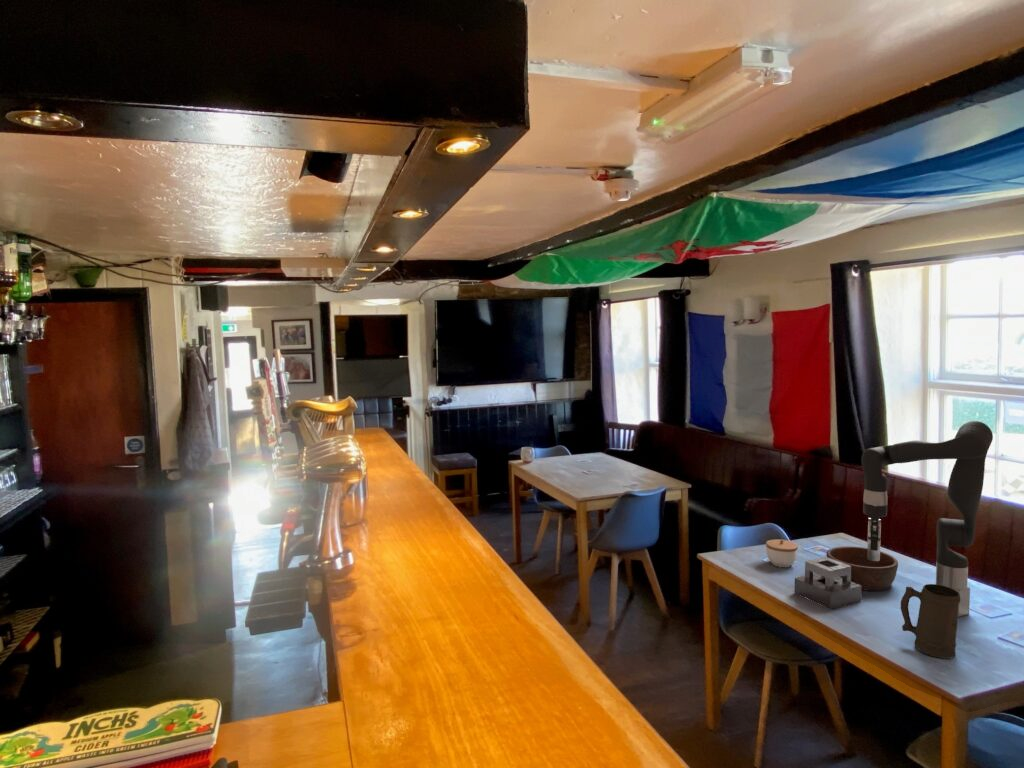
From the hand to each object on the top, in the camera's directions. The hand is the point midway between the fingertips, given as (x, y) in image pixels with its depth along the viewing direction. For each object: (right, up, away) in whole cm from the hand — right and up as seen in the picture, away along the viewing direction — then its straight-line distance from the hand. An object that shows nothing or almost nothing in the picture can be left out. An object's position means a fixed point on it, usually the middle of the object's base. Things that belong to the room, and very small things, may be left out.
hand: (873, 547), depth 227 cm
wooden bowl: (+8, -20, +23) cm, 32 cm away
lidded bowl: (-15, -19, +42) cm, 49 cm away
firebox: (-13, -21, +9) cm, 26 cm away
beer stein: (-1, -24, -31) cm, 39 cm away
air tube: (0, -4, 0) cm, 4 cm away
